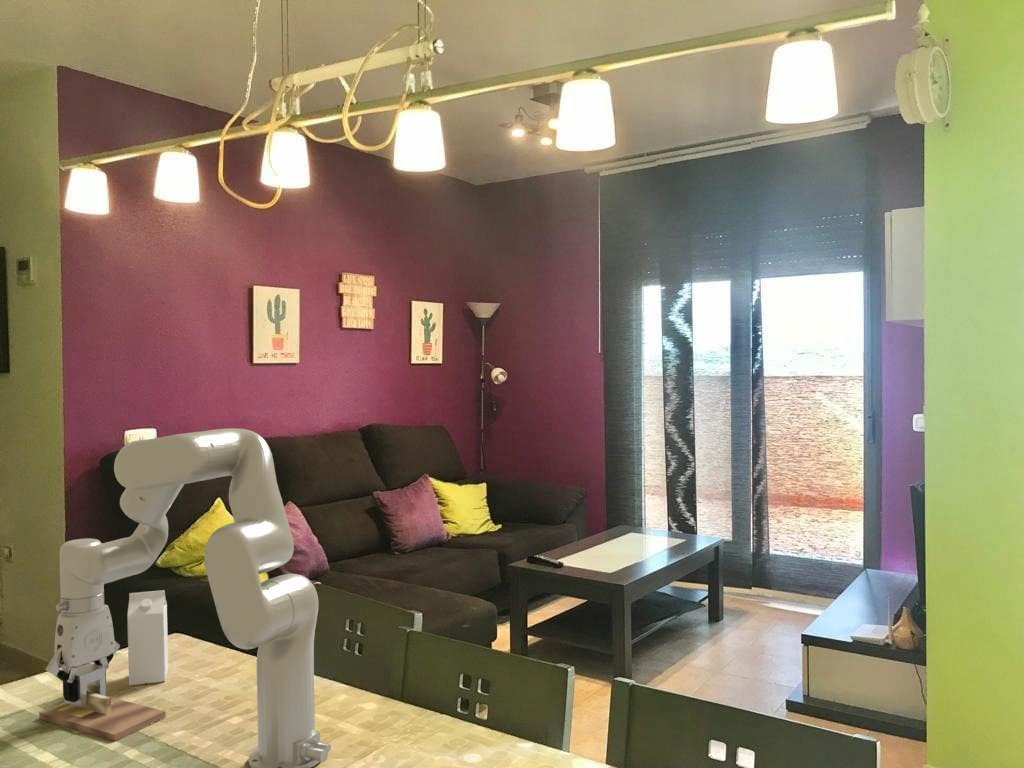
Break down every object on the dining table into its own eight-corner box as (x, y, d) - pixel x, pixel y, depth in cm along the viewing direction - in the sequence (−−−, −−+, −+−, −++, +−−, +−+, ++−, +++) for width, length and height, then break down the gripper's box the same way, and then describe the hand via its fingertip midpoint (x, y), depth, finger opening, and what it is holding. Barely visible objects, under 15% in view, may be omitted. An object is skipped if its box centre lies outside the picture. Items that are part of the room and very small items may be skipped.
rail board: (165, 717, 159) (165, 696, 159) (115, 741, 149) (114, 718, 149) (91, 697, 169) (90, 677, 169) (39, 718, 159) (38, 697, 159)
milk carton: (133, 674, 182) (131, 589, 181) (168, 670, 184) (166, 586, 183) (129, 686, 175) (126, 597, 174) (165, 682, 177) (163, 594, 176)
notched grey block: (105, 696, 163) (105, 666, 162) (80, 707, 158) (79, 676, 158) (89, 692, 165) (88, 662, 165) (64, 702, 160) (63, 672, 160)
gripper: (53, 618, 151) (56, 715, 152) (133, 594, 167) (135, 682, 167) (28, 612, 155) (30, 708, 155) (109, 590, 170) (111, 676, 171)
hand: (85, 694), depth 161 cm, fingers closed on notched grey block, 5 cm apart
